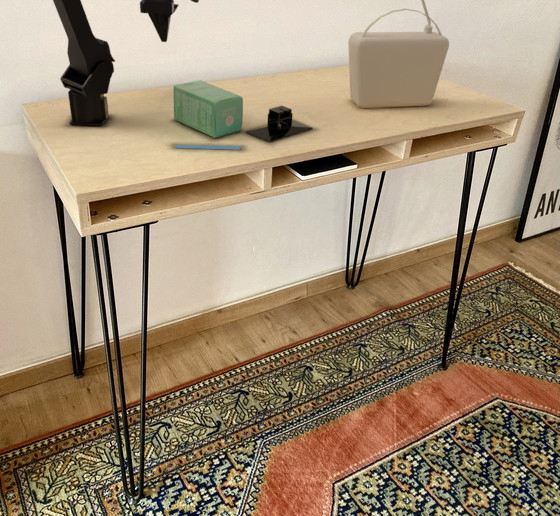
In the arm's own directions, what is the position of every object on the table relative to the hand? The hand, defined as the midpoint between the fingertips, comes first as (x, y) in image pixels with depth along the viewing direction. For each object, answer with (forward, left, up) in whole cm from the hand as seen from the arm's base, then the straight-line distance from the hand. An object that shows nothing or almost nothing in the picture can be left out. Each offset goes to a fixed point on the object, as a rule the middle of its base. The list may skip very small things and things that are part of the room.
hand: (164, 41), depth 133 cm
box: (+10, -15, -13) cm, 22 cm away
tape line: (+11, -27, -13) cm, 31 cm away
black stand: (+25, -17, -13) cm, 32 cm away
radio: (+51, +5, -13) cm, 53 cm away
